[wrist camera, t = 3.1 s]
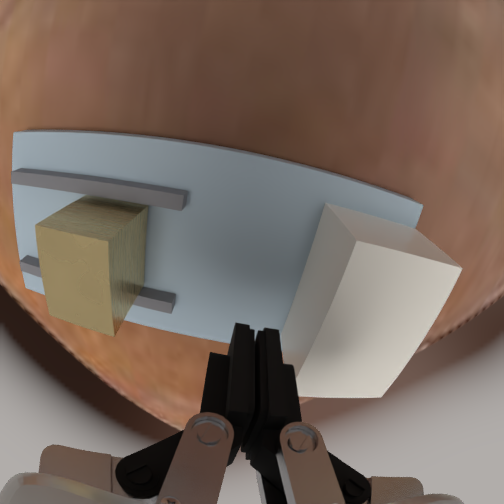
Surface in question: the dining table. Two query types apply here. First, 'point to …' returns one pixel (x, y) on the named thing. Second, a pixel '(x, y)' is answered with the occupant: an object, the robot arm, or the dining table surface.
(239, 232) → the plate
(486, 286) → the dining table surface
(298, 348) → the white rectangular block
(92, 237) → the block
